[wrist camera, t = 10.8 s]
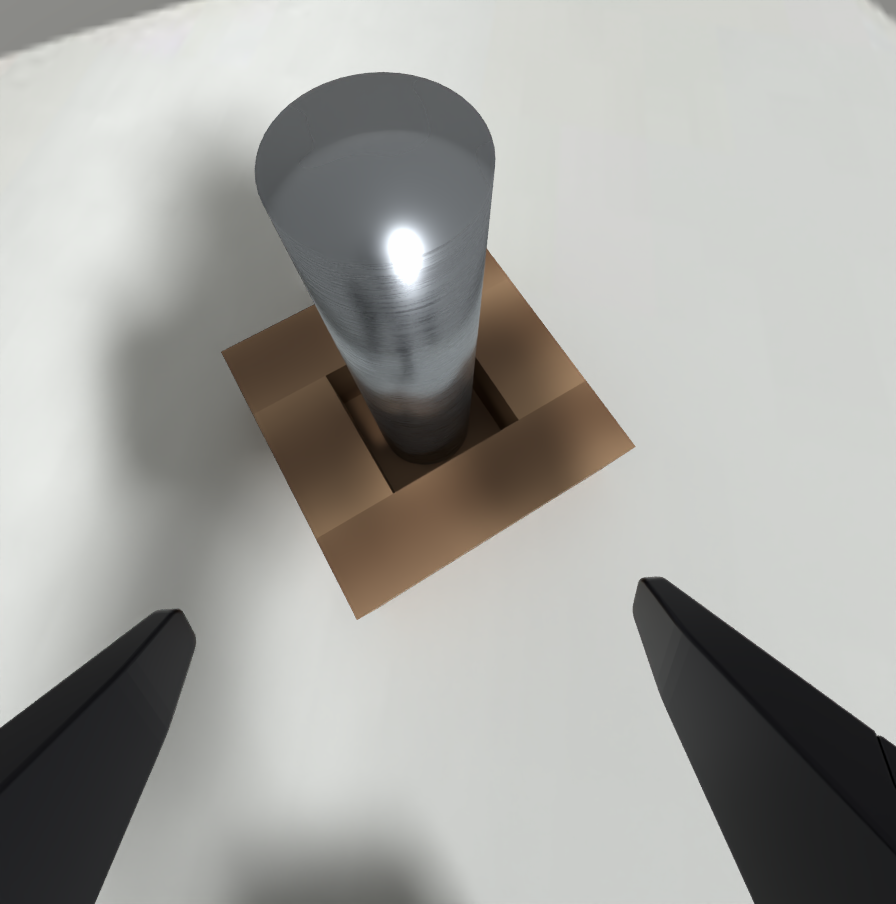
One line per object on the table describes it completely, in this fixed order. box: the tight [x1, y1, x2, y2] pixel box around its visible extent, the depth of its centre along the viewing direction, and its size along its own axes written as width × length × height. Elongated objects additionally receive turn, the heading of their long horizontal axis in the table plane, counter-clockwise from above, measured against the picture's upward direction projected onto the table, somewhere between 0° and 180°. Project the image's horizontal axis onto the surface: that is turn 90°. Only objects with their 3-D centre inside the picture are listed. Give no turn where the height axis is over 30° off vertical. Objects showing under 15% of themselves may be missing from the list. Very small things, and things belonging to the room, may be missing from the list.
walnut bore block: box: [221, 248, 635, 620], centre depth 18 cm, size 12×12×4 cm
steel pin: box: [255, 72, 495, 465], centre depth 13 cm, size 4×4×13 cm
